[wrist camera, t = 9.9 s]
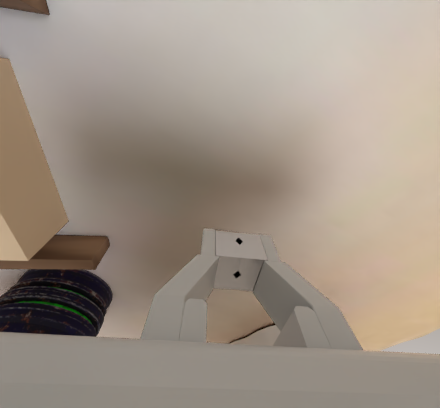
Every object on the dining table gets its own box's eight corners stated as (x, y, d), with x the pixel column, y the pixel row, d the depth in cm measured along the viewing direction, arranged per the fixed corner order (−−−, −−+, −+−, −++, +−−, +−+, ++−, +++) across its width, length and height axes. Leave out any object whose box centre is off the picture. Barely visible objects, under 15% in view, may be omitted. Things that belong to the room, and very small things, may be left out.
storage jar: (123, 310, 25) (44, 535, 13) (48, 318, 25) (-114, 559, 12) (94, 259, 20) (-94, 556, 7) (-3, 268, 20) (-382, 601, 7)
